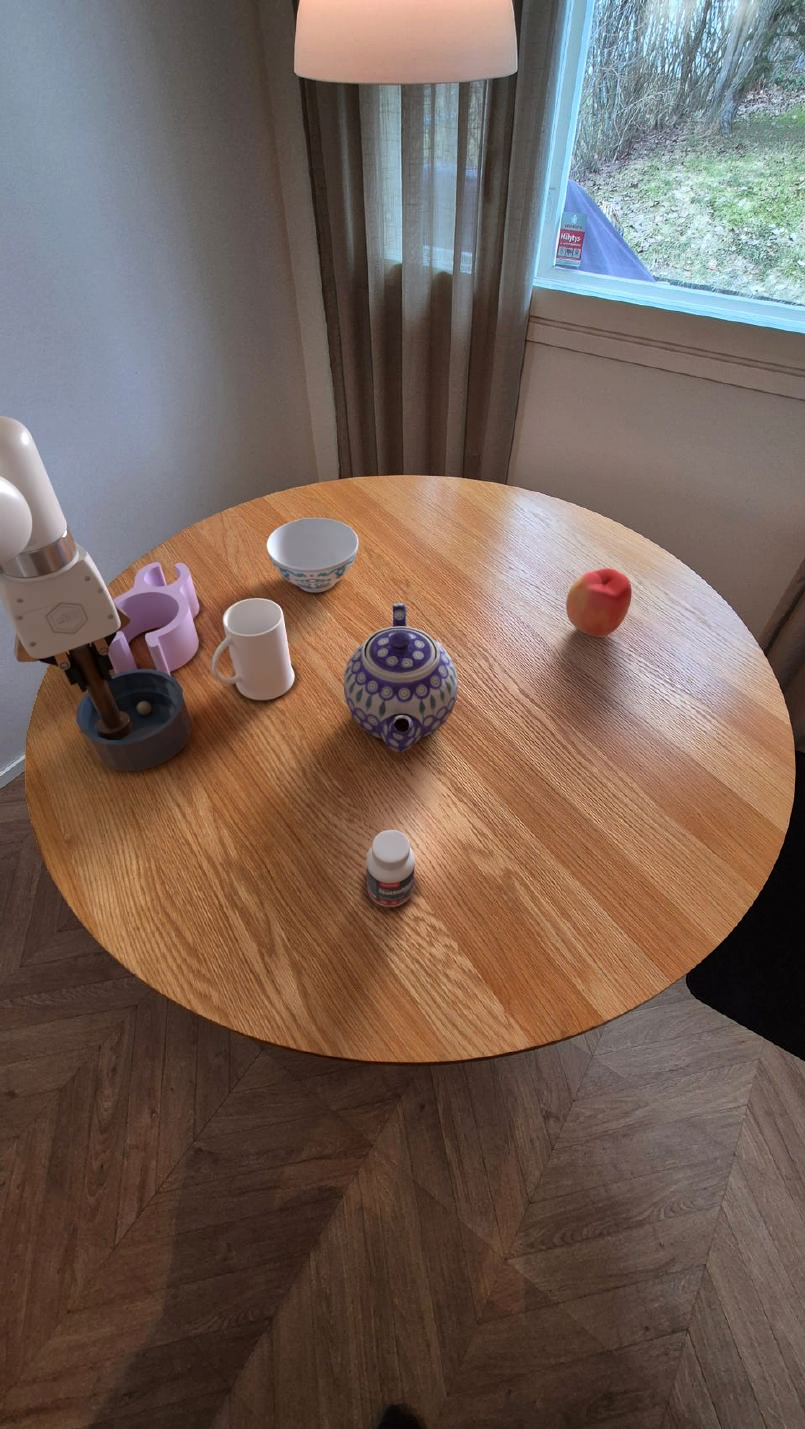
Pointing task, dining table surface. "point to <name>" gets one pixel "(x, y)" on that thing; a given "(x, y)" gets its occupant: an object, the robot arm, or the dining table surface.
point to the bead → (144, 708)
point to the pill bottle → (390, 869)
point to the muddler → (101, 695)
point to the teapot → (400, 683)
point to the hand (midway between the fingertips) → (93, 679)
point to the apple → (599, 602)
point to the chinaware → (313, 552)
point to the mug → (256, 649)
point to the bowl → (140, 721)
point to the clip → (158, 619)
